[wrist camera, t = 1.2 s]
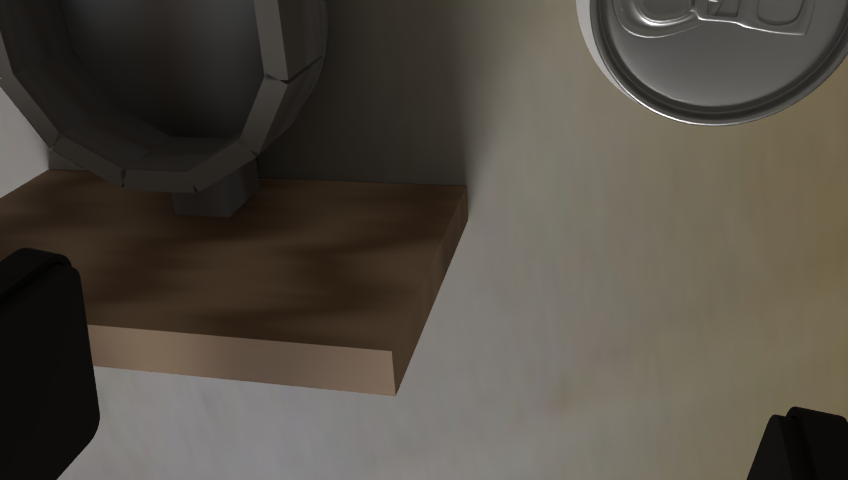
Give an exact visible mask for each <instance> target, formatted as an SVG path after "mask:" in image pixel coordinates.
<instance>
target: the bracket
mask: <svg viewBox="0 0 848 480" xmlns="http://www.w3.org/2000/svg"><path fill="white" fill-rule="evenodd" d="M328 30H329V23H328V6H327V0H0V78H1V79H0V87H1V88H2V89H3V90H4V92H5V93H6V94H7V95H8V97H9V98H10V99H11V100H12V102H13V103H14V104H15V105H16V107H17V108H18V109H19V110H20V112H21V113H22V114H23V115H24V117H25V118H26V119H27V120H28V122H29V123H30V124H31V125H32V127H33V128H34V129H35V130H36V132H37V133H38V134H39V135H40V137H41V138H42V139H43V140H44V142H45V143H46V144H47V145H48V147H49V148H50V147H51V146H53V145H54V149H53V151H54V152H56V153H58V154H60V155H61V156H63V157H65V158H67V159H69V160H70V161H72V162H74V163H76V164H78V165H79V166H81V167H83V168H85V169H87V170H88V171H66V170H47V171H45V172H44V173H42V174H40V175H39V176H37V177H35V178H34V179H32V180H30V181H29V182H27V183H25V184H24V185H22V186H20V187H19V188H17V189H15V190H14V191H12V192H10V193H9V194H7V195H5V196H4V197H2V198H0V261H2V260H3V259H5V258H6V257H8V256H9V255H10V254H12V253H13V252H15V251H16V250H19V249H21V248H33V249H38V250H43V251H48V252H53V253H57V254H62V255H64V256H66V257H67V258H68V259H69V260H70V262H71V265H72V267H73V268H75V269H77V270H78V272H79V274H80V277H81V284H82V291H83V298H84V305H85V312H86V319H87V326H88V333H89V341H90V348H91V355H92V362H93V366H100V367H110V368H120V369H130V370H140V371H150V372H160V373H170V374H180V375H190V376H200V377H210V378H220V379H230V380H240V381H250V382H260V383H270V384H280V385H290V386H300V387H309V388H319V389H329V390H339V391H349V392H359V393H369V394H379V395H389V396H396V394H397V392H398V389H399V387H400V384H401V382H402V379H403V377H404V375H405V372H406V370H407V367H408V365H409V362H410V360H411V358H412V355H413V353H414V350H415V348H416V345H417V343H418V340H419V338H420V336H421V333H422V331H423V328H424V326H425V323H426V321H427V319H428V316H429V314H430V311H431V309H432V306H433V304H434V301H435V299H436V297H437V294H438V292H439V289H440V287H441V284H442V282H443V280H444V277H445V275H446V272H447V270H448V267H449V265H450V263H451V260H452V258H453V255H454V253H455V250H456V248H457V245H458V243H459V241H460V238H461V236H462V233H463V231H464V228H465V226H466V224H467V221H468V217H467V188H466V186H452V185H427V184H401V183H375V182H349V181H324V180H298V179H272V178H259V177H258V171H257V164H256V157H257V156H258V155H259V154H260V153H261V152H263V151H264V150H265V149H266V148H267V147H268V146H269V145H270V144H271V143H273V142H274V141H275V140H276V139H277V138H278V137H279V136H280V135H281V134H283V133H284V132H285V131H286V130H287V129H288V128H289V127H290V126H291V125H293V123H294V122H295V121H296V119H297V117H298V115H299V113H300V110H301V108H302V106H303V105H304V103H305V102H306V101H307V99H308V98H309V96H310V95H311V93H312V91H313V89H314V87H315V85H316V83H317V81H318V78H319V76H320V73H321V70H322V67H323V64H324V60H325V55H326V50H327V43H328Z"/></svg>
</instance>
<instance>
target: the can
mask: <svg viewBox="0 0 848 480" xmlns="http://www.w3.org/2000/svg"><path fill="white" fill-rule="evenodd" d="M576 6H577V13H578V18H579V23H580V27H581V30H582V34H583V37H584V39H585V42H586V44H587V47H588V49H589V51H590V53H591V55H592V57H593V58H594V60H595V62H596V63H597V65H598V66H599V68H600V69H601V70H602V72H603V73H604V74H605V75H606V77H607V78H608V79H609V80H610V81H611V82H612V83H613V84H614V85H615V86H616V87H617V88H618V89H619V90H621V91H622V92H623V93H624V94H626V95H627V96H628V97H630V98H631V99H633V100H634V101H636V102H638V103H639V104H641V105H642V106H644V107H645V108H647V109H649V110H651V111H653V112H654V113H656V114H659V115H661V116H663V117H666V118H668V119H671V120H675V121H678V122H682V123H686V124H692V125H699V126H730V125H737V124H743V123H748V122H752V121H756V120H759V119H762V118H765V117H768V116H770V115H773V114H775V113H778V112H780V111H782V110H784V109H786V108H788V107H790V106H792V105H793V104H795V103H797V102H798V101H800V100H801V99H803V98H804V97H806V96H807V95H809V94H810V93H811V92H813V91H814V90H815V89H816V88H817V87H819V86H820V85H821V84H822V83H823V82H824V81H825V80H826V79H827V78H828V77H829V76H830V75H831V74H832V73H833V72H834V71H835V70H836V69H837V68H838V66H839V65H840V64H841V63H842V61H843V60H844V59H845V57H846V56H847V54H848V0H576Z"/></svg>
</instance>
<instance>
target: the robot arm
mask: <svg viewBox="0 0 848 480" xmlns="http://www.w3.org/2000/svg"><path fill="white" fill-rule="evenodd" d="M99 420H100V412H99V405H98V397H97V390H96V383H95V376H94V369H93V362H92V355H91V348H90V341H89V333H88V326H87V319H86V312H85V305H84V298H83V291H82V284H81V277H80V274H79V272H78V270H77V269H75V268H73V267H72V265H71V262H70V260H69V259H68V258H67V257H66V256H64V255H62V254H57V253H53V252H48V251H43V250H38V249H33V248H21V249H19V250H16V251H15V252H13V253H12V254H10V255H9V256H8V257H6V258H5V259H3V260H2V261H0V480H57V479H58V477H59V476H60V475H61V474H62V473H63V472H64V471H65V470H66V468H67V467H68V466H69V465H70V464H71V463H72V462H73V461H74V459H75V458H76V457H77V456H78V455H79V454H80V453H81V452H82V450H83V449H84V448H85V447H86V446H87V445H88V444H89V443H90V441H91V440H92V439H93V437H94V435H95V433H96V431H97V429H98V426H99ZM747 480H848V422H847V420H846V418H844V417H842V416H839V415H834V414H829V413H825V412H820V411H815V410H810V409H805V408H800V407H796V406H795V407H792V408H791V409H790V410H789V411H788V413H787V415H786V417H785V416H780V415H772V417H771V418H770V419H769V422H768V424H767V426H766V429H765V432H764V434H763V437H762V440H761V442H760V445H759V448H758V451H757V453H756V456H755V459H754V461H753V464H752V467H751V469H750V472H749V475H748V477H747Z"/></svg>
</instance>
